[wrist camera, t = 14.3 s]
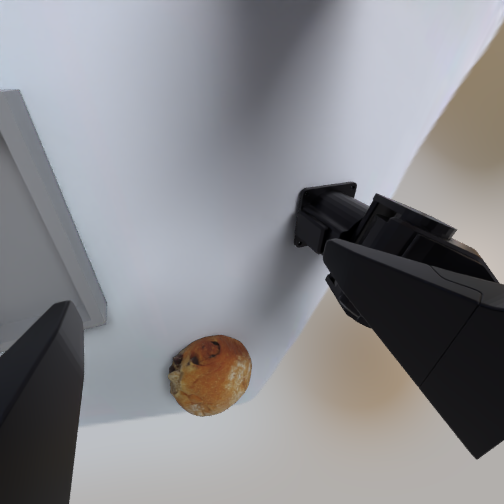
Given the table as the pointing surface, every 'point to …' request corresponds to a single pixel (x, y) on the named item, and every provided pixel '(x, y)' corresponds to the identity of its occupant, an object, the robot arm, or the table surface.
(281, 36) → the table surface
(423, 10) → the table surface
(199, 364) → the bread roll
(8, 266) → the grey tray
